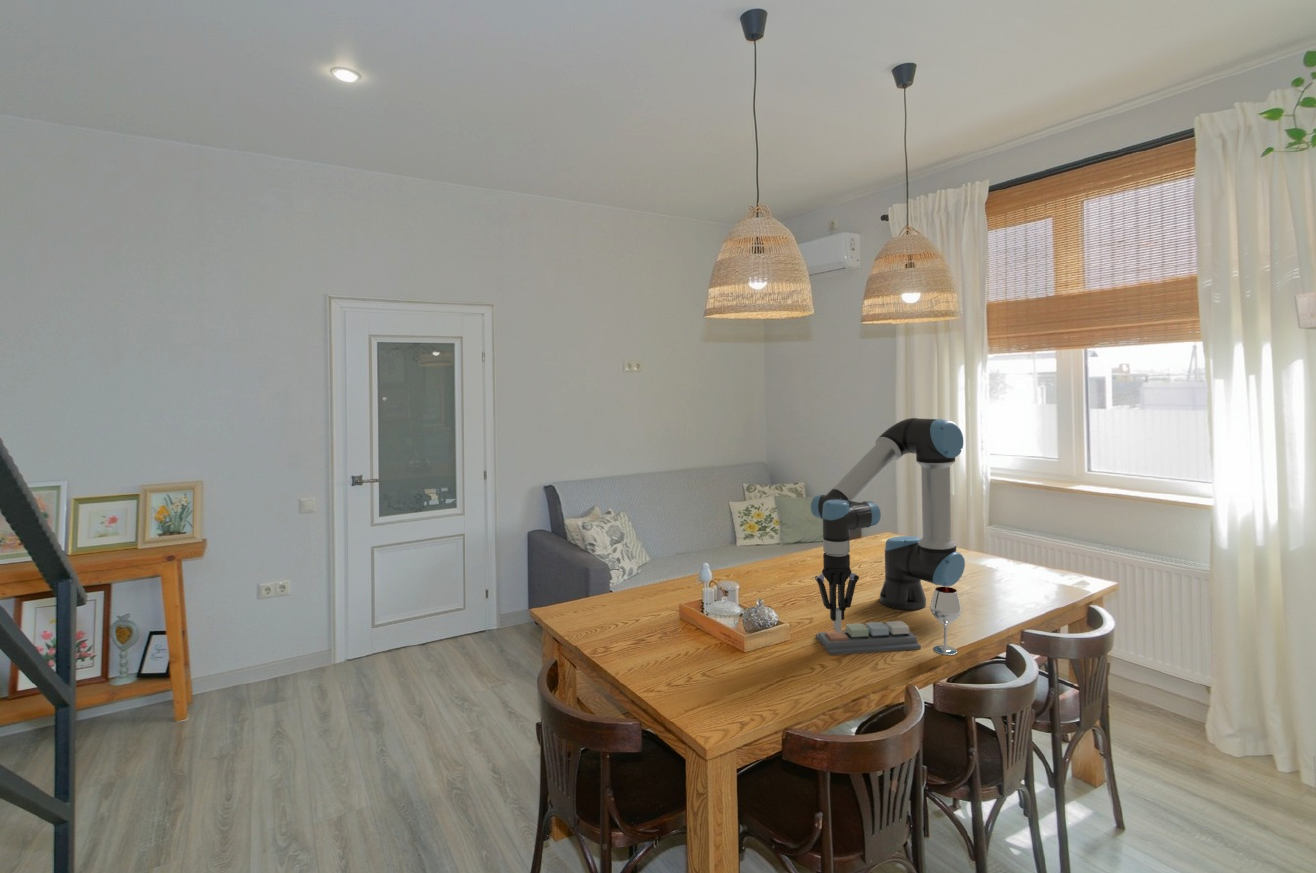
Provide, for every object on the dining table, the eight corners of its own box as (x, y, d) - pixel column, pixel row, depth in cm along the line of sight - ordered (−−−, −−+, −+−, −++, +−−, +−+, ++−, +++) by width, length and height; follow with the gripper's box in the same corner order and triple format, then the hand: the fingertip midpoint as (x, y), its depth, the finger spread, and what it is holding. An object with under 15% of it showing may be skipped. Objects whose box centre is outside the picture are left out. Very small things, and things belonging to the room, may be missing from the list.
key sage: (861, 629, 202) (861, 623, 202) (868, 635, 197) (868, 629, 197) (845, 630, 202) (845, 624, 202) (851, 637, 197) (851, 630, 197)
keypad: (900, 631, 208) (901, 624, 208) (920, 648, 195) (920, 640, 195) (815, 637, 206) (815, 629, 205) (830, 654, 193) (830, 646, 192)
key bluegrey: (881, 628, 203) (881, 621, 203) (888, 634, 198) (888, 628, 198) (865, 629, 203) (865, 622, 202) (872, 635, 198) (872, 629, 197)
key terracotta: (841, 637, 202) (841, 630, 202) (847, 643, 197) (847, 637, 197) (825, 638, 202) (825, 631, 201) (831, 644, 197) (831, 638, 197)
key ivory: (901, 627, 203) (901, 620, 203) (909, 633, 198) (909, 626, 198) (885, 628, 203) (885, 621, 203) (892, 634, 198) (892, 627, 198)
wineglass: (942, 658, 189) (943, 595, 187) (923, 646, 196) (924, 587, 195) (967, 654, 191) (968, 592, 189) (947, 643, 199) (948, 583, 197)
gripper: (853, 548, 201) (854, 624, 204) (810, 550, 200) (812, 627, 202) (862, 555, 194) (863, 633, 196) (818, 557, 193) (820, 637, 195)
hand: (837, 630), depth 199 cm, fingers closed
